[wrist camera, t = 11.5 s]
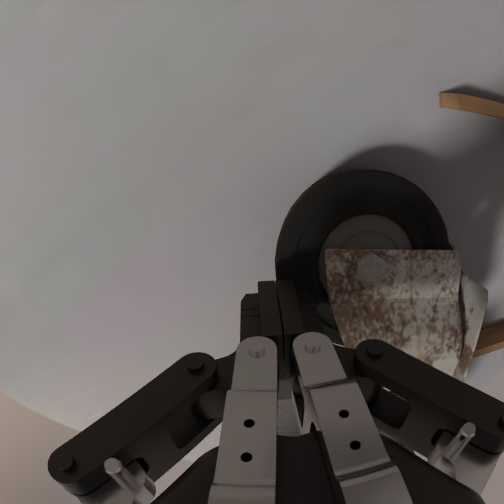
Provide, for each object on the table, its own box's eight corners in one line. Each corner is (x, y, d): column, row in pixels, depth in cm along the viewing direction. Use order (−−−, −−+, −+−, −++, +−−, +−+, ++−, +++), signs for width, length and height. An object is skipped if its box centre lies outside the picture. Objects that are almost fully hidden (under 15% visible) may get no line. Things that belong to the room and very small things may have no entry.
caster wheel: (279, 168, 17) (447, 176, 16) (279, 350, 20) (425, 348, 18) (268, 166, 11) (511, 182, 9) (269, 422, 14) (461, 410, 12)
